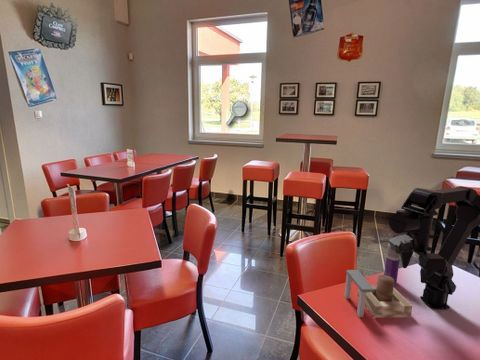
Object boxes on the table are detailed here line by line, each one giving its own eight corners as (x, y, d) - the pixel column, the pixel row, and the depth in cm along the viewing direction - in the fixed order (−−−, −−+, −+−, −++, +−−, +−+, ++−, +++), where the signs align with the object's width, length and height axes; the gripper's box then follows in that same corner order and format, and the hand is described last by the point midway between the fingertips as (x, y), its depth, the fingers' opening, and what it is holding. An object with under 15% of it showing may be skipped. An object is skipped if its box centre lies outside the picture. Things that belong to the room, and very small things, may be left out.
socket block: (390, 295, 105) (391, 285, 104) (410, 317, 93) (412, 305, 92) (357, 295, 104) (358, 285, 103) (374, 317, 92) (375, 306, 92)
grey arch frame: (354, 295, 104) (357, 269, 102) (371, 317, 92) (374, 289, 90) (343, 295, 104) (346, 270, 102) (358, 317, 92) (362, 289, 90)
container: (398, 285, 111) (403, 248, 108) (384, 284, 112) (389, 247, 109) (394, 279, 116) (399, 243, 113) (381, 277, 116) (386, 242, 114)
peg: (386, 298, 101) (389, 274, 99) (394, 307, 96) (397, 282, 94) (372, 298, 101) (374, 274, 99) (379, 307, 96) (382, 282, 94)
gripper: (379, 219, 99) (374, 261, 102) (413, 241, 81) (406, 292, 84) (410, 219, 100) (405, 261, 103) (452, 241, 81) (443, 291, 84)
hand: (413, 275), depth 93 cm, fingers open, 9 cm apart
